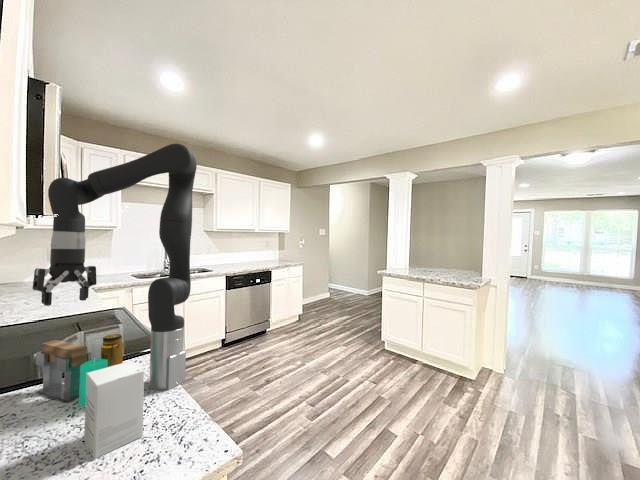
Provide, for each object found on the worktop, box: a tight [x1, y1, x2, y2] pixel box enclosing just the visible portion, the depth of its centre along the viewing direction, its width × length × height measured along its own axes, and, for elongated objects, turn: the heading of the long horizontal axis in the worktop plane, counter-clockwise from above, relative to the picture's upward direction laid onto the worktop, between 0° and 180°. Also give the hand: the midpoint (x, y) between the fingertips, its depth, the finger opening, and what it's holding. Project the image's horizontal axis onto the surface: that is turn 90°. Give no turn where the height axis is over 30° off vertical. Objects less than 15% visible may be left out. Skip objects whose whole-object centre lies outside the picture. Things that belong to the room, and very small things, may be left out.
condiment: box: [100, 333, 124, 367], centre depth 96 cm, size 7×8×12 cm
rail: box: [40, 339, 88, 367], centre depth 81 cm, size 15×4×4 cm, turn 69°
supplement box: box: [83, 360, 145, 459], centre depth 62 cm, size 9×9×15 cm
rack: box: [35, 350, 92, 404], centre depth 81 cm, size 14×6×12 cm, turn 69°
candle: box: [78, 356, 108, 408], centre depth 77 cm, size 6×6×12 cm
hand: (66, 302), depth 81 cm, fingers open, 8 cm apart
